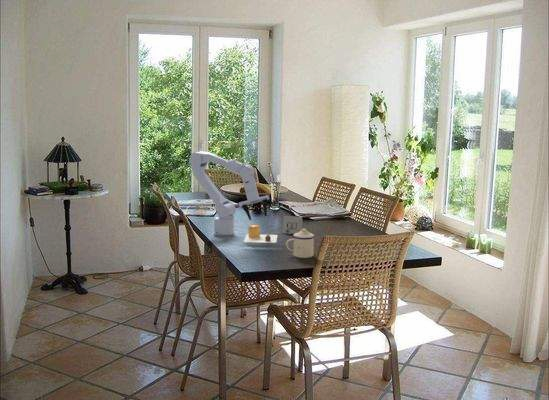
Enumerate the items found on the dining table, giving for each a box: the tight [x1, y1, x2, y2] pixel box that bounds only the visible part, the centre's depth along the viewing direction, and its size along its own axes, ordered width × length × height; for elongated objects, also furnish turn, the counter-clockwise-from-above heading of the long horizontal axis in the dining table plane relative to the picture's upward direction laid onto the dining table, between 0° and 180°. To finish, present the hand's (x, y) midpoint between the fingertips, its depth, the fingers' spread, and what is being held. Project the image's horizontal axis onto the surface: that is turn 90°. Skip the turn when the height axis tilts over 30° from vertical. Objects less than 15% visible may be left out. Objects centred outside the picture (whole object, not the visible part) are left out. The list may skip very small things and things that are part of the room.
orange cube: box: [248, 224, 261, 238], centre depth 286 cm, size 5×5×5 cm
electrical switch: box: [282, 215, 303, 235], centre depth 295 cm, size 9×5×9 cm, turn 78°
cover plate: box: [243, 233, 278, 244], centre depth 282 cm, size 15×16×4 cm
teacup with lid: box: [285, 228, 315, 259], centre depth 255 cm, size 12×9×12 cm
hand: (258, 217), depth 285 cm, fingers open, 7 cm apart
